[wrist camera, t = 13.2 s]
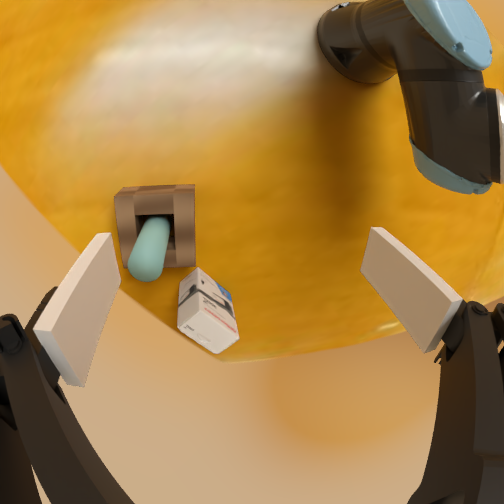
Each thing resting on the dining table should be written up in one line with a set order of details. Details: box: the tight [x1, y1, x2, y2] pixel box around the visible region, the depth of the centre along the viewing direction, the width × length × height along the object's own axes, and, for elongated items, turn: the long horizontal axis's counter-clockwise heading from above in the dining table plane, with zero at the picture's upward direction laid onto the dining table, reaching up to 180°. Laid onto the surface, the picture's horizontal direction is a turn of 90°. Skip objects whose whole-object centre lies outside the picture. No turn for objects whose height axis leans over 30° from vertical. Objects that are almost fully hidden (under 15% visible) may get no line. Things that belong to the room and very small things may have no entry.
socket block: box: [114, 185, 196, 268], centre depth 38 cm, size 11×11×5 cm
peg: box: [128, 214, 172, 282], centre depth 34 cm, size 4×4×14 cm
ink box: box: [177, 267, 239, 354], centre depth 42 cm, size 8×5×12 cm, turn 40°
